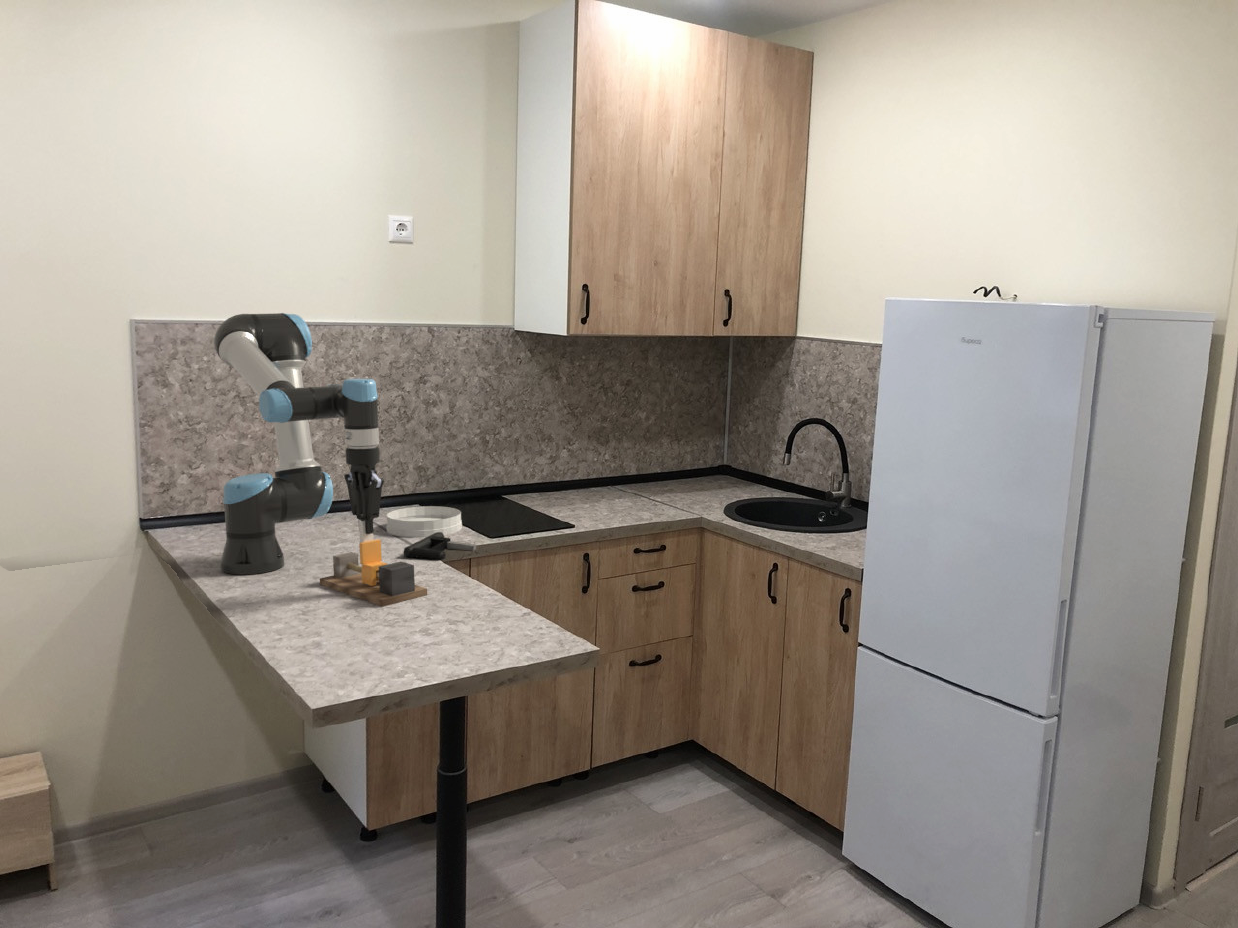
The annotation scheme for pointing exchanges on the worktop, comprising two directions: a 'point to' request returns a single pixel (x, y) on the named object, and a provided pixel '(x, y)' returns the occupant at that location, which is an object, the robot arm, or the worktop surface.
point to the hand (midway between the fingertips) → (367, 546)
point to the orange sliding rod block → (370, 560)
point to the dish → (423, 521)
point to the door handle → (435, 547)
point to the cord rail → (388, 590)
